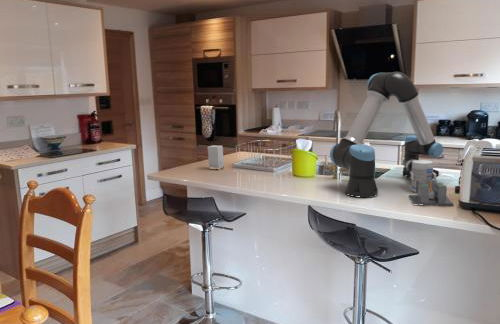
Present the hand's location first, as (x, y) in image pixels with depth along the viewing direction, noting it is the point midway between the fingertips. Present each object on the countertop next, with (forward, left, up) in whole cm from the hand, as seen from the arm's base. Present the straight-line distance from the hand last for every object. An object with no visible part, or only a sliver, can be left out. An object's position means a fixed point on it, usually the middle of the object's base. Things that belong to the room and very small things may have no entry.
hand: (424, 177), depth 191 cm
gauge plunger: (-3, -9, -6) cm, 12 cm away
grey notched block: (-5, -13, -8) cm, 16 cm away
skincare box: (-93, +89, -8) cm, 129 cm away
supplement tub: (+2, +4, -8) cm, 9 cm away
